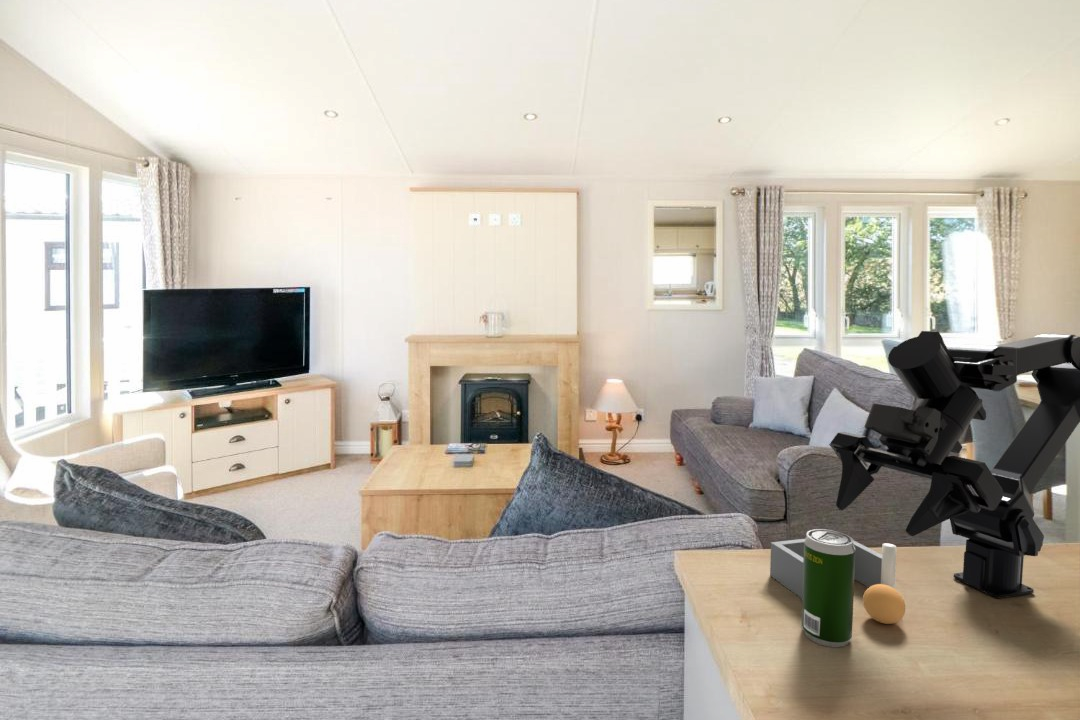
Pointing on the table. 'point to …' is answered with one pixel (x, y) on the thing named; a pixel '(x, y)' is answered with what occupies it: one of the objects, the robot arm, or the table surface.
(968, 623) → the table surface
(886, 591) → the ball
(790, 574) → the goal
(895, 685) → the table surface
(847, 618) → the beer can
